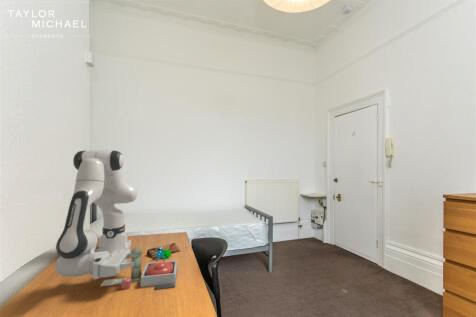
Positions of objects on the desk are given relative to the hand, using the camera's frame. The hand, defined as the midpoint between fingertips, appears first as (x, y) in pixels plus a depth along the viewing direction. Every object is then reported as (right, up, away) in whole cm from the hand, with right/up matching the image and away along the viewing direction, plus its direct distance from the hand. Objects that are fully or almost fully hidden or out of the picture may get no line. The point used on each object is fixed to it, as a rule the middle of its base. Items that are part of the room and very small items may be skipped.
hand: (136, 259), depth 98 cm
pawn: (0, -9, 0) cm, 9 cm away
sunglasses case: (+2, -12, +33) cm, 35 cm away
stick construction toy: (+2, -11, +25) cm, 27 cm away
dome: (+10, -8, +2) cm, 13 cm away
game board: (+1, -10, 0) cm, 10 cm away
